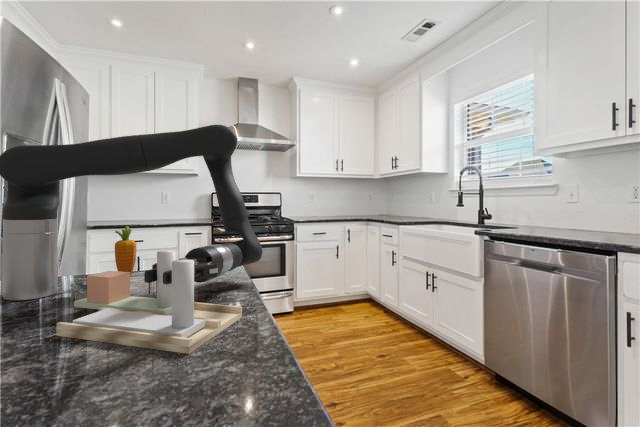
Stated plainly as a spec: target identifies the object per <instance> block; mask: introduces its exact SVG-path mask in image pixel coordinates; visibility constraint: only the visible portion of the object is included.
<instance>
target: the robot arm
mask: <svg viewBox="0 0 640 427" xmlns="http://www.w3.org/2000/svg"><path fill="white" fill-rule="evenodd" d="M237 144H238V136H237V134H236V133H235V131H234V130H233V129H232V128H230V127H229V126H227V125H225V124H224V125H223V124H210V125H206V126H205V125H204V126H201V127H196V128H191V129H186V130H180V131H170V132H169V131H168V132H160V133H159V132H157V133H147V134H145V133H144V134H135V135H124V136H117V137H110V138H102V139H96V140H91V141H86V142H80V143H73V144H41V145H40V144H39V145H38V144H37V145H36V144H35V145H31V144H29V145H26V144H23V145H16V146H13V147H11V148H8V149H7V150H4V151H2V153H1V154H0V177H1V178H2V179H3V180H5V181H6V182H7V192H6V193H7V194H6V201H5V204H4V205H3V207H2V253H1V254H0V297H1V298H2V297H3V298H2V299H3V300H6V301H25V300H35V299H40V298H45V297H49V296H53V295H55V294H57V293H58V270H59V269H58V267H59V266H58V263H59V260H58V210H59V206H60V182H61V181H63V180H68V179H72V178H79V177H85V176H118V175H119V176H121V175H133V174H140V173H145V172H151V171H155V170H159V169H161V168H164V167H168V166H170V165H172V164H175V163H177V162H180V161H182V160H185V159H188V158H189V159H190V158H193V157H196V158H197V157H202V158H203V159H204V162H205V164H206V167H207V169H208V172H209V174H210V178H211V180H212V183H213V186H214V187H213V188H214V190H215V194H216V198H217V203H218V208H219V214H220V216H221V221H222V224H223V225H222V226H223V229H224V232H226V233H227V234H239V235H240V237H241V238H242V239H239V240H236V241H232V242H226V243H221V244H211V245H210V244H209V245H206V246H200V247H194V248H192V249H191V250H189V251H188V252H187V253H185V254H186V255H185V256H184V257H180V258H179V259H177V260H194V283H198V284H199V283H204V282H205V283H206V282H208V281H210V280H213V279H215V278H218V277H220V276H222V275H224V274H226V273H228V272H231V271H233V270H235V269H237V268H239V267H242V266H243V267H244V266H246V265H250V264H254V263H257V262H259V261H260V260H261V259H262V256H263V247H262V244H261V242H260V240H259V239H258V237H257V235H256V233H255V231H254V229H253V227H252V225H251V223H250V221H249V220H250V219H249V215H248V212H247V207H246V204H245V200H244V198H243V194H242V193H241V191H240V188H239V186H238V185H237V183H236V179H235V176H234V174H233V173H234V172H233V166H232V156H233V153H234V152H235V151H236V148H237ZM151 267H152V268H151V269H147V270H145V271H144V275H143V276H144V277H143V278H144V283H148V284H150V283H154V282H157V262H156V263H154V264H152V265H151ZM171 283H172V270H169V271H166V272H164V273H163V284H171Z"/></svg>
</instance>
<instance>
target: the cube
mask: <svg viewBox="0 0 640 427" xmlns="http://www.w3.org/2000/svg"><path fill="white" fill-rule="evenodd" d="M86 281H87V302H93V303H103V304H111V303H114V302H117V301H120V300H123V299H126V298H129V297H130V296H131V277H130V272H120V271H118V270H107V271H102V272H98V273H93V274H89V275H86Z"/></svg>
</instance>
